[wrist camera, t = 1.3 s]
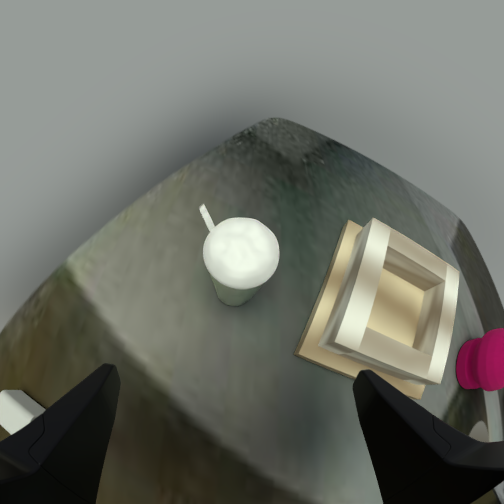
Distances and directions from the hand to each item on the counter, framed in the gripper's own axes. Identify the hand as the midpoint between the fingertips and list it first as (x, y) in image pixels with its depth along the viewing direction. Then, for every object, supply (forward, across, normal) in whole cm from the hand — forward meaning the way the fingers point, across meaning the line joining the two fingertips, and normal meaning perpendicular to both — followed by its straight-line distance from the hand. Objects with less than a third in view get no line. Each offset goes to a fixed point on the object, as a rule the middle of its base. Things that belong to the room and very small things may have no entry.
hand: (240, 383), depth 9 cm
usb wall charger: (+4, +18, +15) cm, 24 cm away
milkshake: (+15, 0, +4) cm, 15 cm away
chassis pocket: (+13, -15, +6) cm, 20 cm away
